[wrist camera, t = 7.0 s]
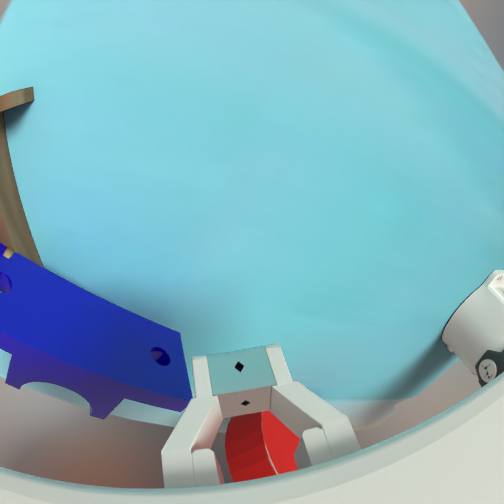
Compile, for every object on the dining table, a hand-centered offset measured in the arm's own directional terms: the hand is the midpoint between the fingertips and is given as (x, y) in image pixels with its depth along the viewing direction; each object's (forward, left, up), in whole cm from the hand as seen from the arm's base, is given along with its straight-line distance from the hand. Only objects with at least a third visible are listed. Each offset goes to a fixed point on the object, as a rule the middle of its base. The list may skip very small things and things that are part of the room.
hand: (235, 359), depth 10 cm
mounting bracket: (+9, +5, -8) cm, 13 cm away
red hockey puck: (-8, +30, -14) cm, 34 cm away
